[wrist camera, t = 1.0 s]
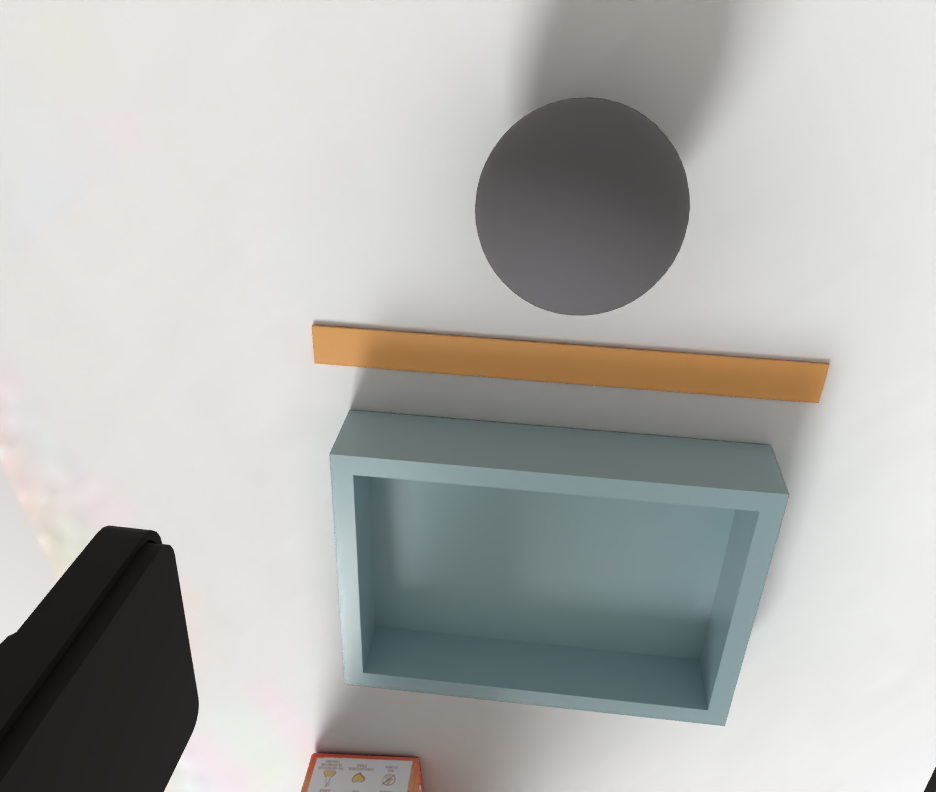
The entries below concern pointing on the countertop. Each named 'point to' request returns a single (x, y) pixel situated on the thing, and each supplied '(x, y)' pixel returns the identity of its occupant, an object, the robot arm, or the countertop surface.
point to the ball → (582, 206)
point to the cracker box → (362, 774)
